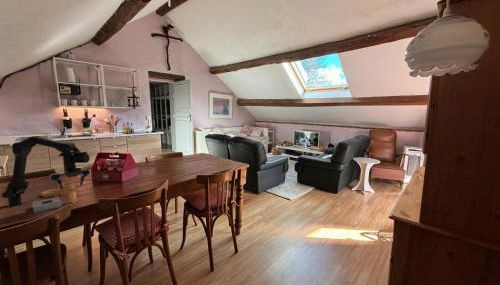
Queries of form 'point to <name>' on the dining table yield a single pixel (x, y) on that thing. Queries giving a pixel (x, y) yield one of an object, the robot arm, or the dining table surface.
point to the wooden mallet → (59, 190)
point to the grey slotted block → (46, 204)
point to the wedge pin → (72, 195)
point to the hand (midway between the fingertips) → (71, 187)
